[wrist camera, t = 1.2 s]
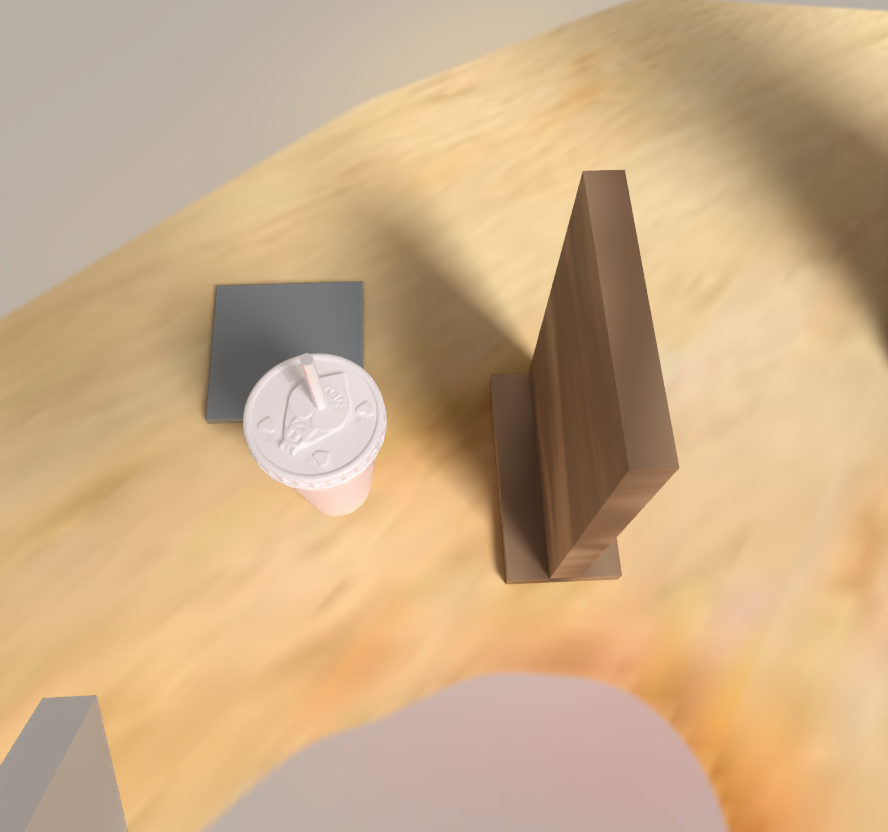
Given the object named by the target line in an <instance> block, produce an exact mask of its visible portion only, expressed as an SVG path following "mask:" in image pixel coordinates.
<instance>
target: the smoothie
mask: <svg viewBox="0 0 888 832" xmlns="http://www.w3.org/2000/svg"><path fill="white" fill-rule="evenodd" d="M386 428H387V419H386V408H385V405H384V403H383V399H382V395H381V393H380V390H379V388H378V386H377V385H376V383H375V382H374V380H373V379H372V377H371V376H370V375H369V374H368V373H367V372H366V371H365V370H364V369H362V368H361V367H360V366H358V365H357V364H355V363H354V362H352V361H350V360H348V359H345V358H343V357H339V356H336V355H331V354H320V353H315V354H308V353H306V354H303V355H300V356H296V357H293V358H290V359H288V360H286V361H283V362H282V363H280V364H278V365H276V366H275V367H273V368H272V369H271V370H269V371H268V372H267V373H266V374H265V375H264V376H263V377H262V378H261V379H260V380H259V381H258V382H257V383H256V385H255V386H254V388H253V389H252V391H251V393H250V395H249V397H248V399H247V402H246V405H245V409H244V415H243V429H244V435H245V438H246V441H247V444H248V446H249V449H250V453H251V455H252V456H253V458H254V459H255V461H256V462H257V464H258V465H259V467H260V468H261V469H262V470H263V471H264V472H265V473H267V474H268V475H269V476H270V477H271V478H273V479H274V480H276V481H278V482H280V483H282V484H285V485H287V486H289V487H292V488H293V489H295V490H296V491H297V492H298V493H299V494H300V495H301V496H302V497H303V498H305V499H306V500H307V501H308V502H309V503H310V504H311V505H312V506H313V507H315V508H316V509H317V510H318V511H320V512H322V513H324V514H327V515H333V516H340V515H345V514H348V513H351V512H353V511H355V510H356V509H358V508H359V507H360V506H361V505H362V504H363V503H364V502H365V500H366V499H367V497H368V495H369V492H370V488H371V481H372V475H373V469H374V462H375V458H376V456H377V454H378V452H379V450H380V448H381V446H382V444H383V442H384V437H385V432H386Z"/></svg>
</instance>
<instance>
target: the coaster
mask: <svg viewBox="0 0 888 832" xmlns="http://www.w3.org/2000/svg"><path fill="white" fill-rule="evenodd" d="M306 353H308V354H315V353H320V354H331V355H336V356H339V357H343V358H345V359H348V360H350V361H352V362H354V363H355V364H357V365H358V366H360V367H361V368H362V369H364V287H363V282H334V283H301V284H268V285H235V286H217V294H216V305H215V317H214V329H213V340H212V352H211V364H210V375H209V387H208V398H207V410H206V420H207V422H208V423H233V422H243V415H244V409H245V405H246V402H247V399H248V397H249V395H250V393H251V391H252V389H253V388H254V386H255V385H256V383H257V382H258V381H259V380H260V379H261V378H262V377H263V376H264V375H265V374H266V373H267V372H268V371H269V370H271V369H272V368H273V367H275V366H276V365H278V364H280V363H282V362H283V361H286V360H288V359H290V358H293V357H296V356H300V355H303V354H306Z"/></svg>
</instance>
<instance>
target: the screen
mask: <svg viewBox="0 0 888 832" xmlns="http://www.w3.org/2000/svg"><path fill="white" fill-rule="evenodd" d="M490 389H491V402H492V414H493V427H494V439H495V451H496V464H497V476H498V489H499V501H500V514H501V526H502V539H503V551H504V563H505V576H506V584H522V583H545V582H567V581H589V580H612V579H618V578H619V577H621V576H622V573H621V566H620V559H619V552H618V545H617V538H616V537H617V536H618V535H619V534H620V533H621V532H622V531H623V529H624V528H625V527H626V526H627V525H628V524H629V523H630V522H631V521H632V520H633V518H634V517H635V516H636V515H637V514H638V513H639V512H640V511H641V510H642V509H643V507H644V506H645V505H646V504H647V503H648V502H649V501H650V500H651V499H652V497H653V496H654V495H655V494H656V493H657V492H658V491H659V490H660V489H661V488H662V486H663V485H664V484H665V483H666V482H667V481H668V480H669V479H670V478H671V476H672V475H673V474H674V473H675V472H676V471H677V470H678V469H679V464H678V458H677V453H676V447H675V442H674V436H673V431H672V425H671V420H670V414H669V409H668V404H667V398H666V393H665V387H664V382H663V376H662V371H661V365H660V360H659V354H658V349H657V344H656V338H655V333H654V327H653V322H652V316H651V311H650V305H649V300H648V294H647V289H646V283H645V278H644V273H643V267H642V262H641V256H640V251H639V245H638V240H637V234H636V229H635V223H634V218H633V212H632V207H631V202H630V196H629V191H628V185H627V180H626V174H625V170H600V171H583V172H582V176H581V180H580V184H579V187H578V191H577V195H576V199H575V202H574V206H573V210H572V214H571V217H570V221H569V225H568V228H567V232H566V236H565V240H564V243H563V247H562V251H561V255H560V258H559V262H558V266H557V269H556V273H555V277H554V281H553V284H552V288H551V292H550V296H549V299H548V303H547V307H546V310H545V314H544V318H543V322H542V325H541V329H540V333H539V337H538V340H537V344H536V348H535V352H534V355H533V359H532V363H531V366H530V370H529V374H502V375H491V379H490Z"/></svg>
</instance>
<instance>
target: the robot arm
mask: <svg viewBox="0 0 888 832" xmlns="http://www.w3.org/2000/svg"><path fill="white" fill-rule="evenodd" d="M0 832H128V830H127V825H126V821H125V817H124V812H123V808H122V804H121V799H120V795H119V790H118V786H117V782H116V777H115V773H114V769H113V764H112V760H111V756H110V751H109V747H108V743H107V738H106V734H105V730H104V725H103V721H102V716H101V712H100V708H99V703H98V699H97V695H92V696H74V697H55V698H42V700H41V701H40V703H39V705H38V706H37V708H36V709H35V711H34V713H33V714H32V716H31V717H30V719H29V721H28V722H27V724H26V725H25V727H24V729H23V730H22V732H21V733H20V735H19V737H18V738H17V740H16V741H15V743H14V745H13V746H12V748H11V749H10V751H9V753H8V754H7V756H6V757H5V759H4V761H3V762H2V764H1V765H0Z"/></svg>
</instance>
